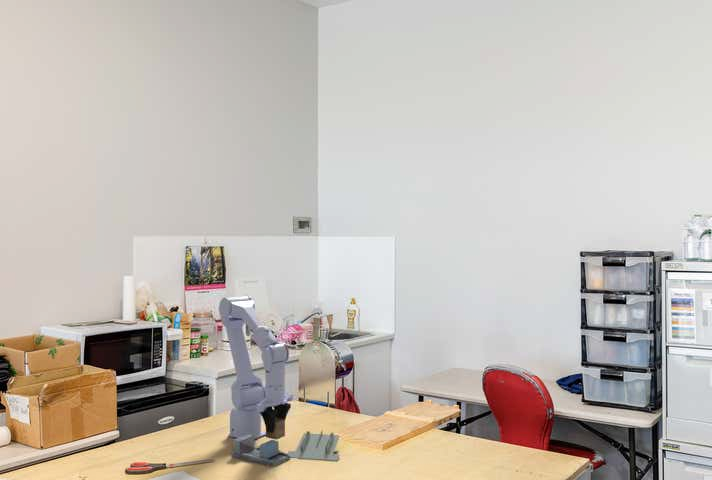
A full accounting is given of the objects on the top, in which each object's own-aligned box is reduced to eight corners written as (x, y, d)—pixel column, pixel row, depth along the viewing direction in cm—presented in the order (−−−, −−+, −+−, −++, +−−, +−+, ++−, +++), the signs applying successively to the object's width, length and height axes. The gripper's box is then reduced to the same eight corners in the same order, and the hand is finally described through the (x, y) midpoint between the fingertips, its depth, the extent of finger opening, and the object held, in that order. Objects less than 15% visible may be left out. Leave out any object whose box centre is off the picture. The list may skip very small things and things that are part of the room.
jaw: (259, 457, 188) (259, 444, 188) (271, 451, 192) (271, 439, 192) (266, 458, 186) (266, 446, 186) (278, 453, 191) (278, 441, 191)
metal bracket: (297, 426, 203) (346, 428, 200) (299, 442, 204) (347, 445, 202) (284, 454, 189) (336, 458, 186) (285, 472, 191) (337, 476, 188)
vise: (231, 457, 192) (231, 440, 192) (249, 449, 198) (249, 433, 198) (273, 467, 184) (273, 449, 184) (290, 458, 190) (289, 441, 190)
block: (265, 437, 199) (265, 420, 199) (274, 433, 202) (274, 417, 202) (276, 439, 197) (276, 422, 197) (284, 435, 200) (284, 419, 200)
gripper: (269, 391, 191) (269, 439, 191) (300, 381, 203) (300, 426, 204) (250, 388, 195) (250, 434, 195) (282, 378, 207) (282, 422, 207)
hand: (275, 430), depth 200 cm, fingers closed on block, 4 cm apart
